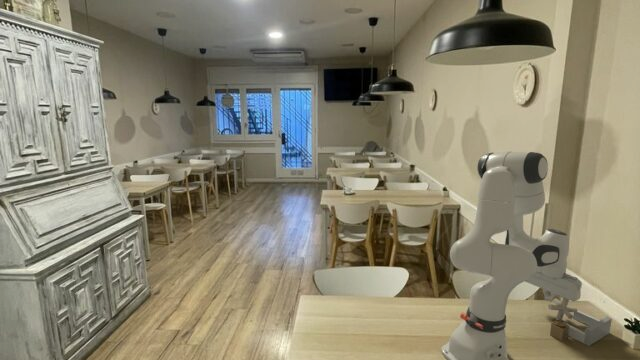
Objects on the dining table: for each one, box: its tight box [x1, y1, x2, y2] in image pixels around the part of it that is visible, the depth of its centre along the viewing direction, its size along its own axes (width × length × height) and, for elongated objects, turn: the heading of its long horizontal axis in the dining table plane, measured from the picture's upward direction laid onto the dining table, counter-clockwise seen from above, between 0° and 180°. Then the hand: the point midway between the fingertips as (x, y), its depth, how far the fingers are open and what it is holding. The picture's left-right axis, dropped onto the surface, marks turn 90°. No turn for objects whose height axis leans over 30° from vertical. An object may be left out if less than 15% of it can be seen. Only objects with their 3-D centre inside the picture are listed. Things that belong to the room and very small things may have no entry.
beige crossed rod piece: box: [548, 297, 578, 321], centre depth 135 cm, size 10×10×10 cm
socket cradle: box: [556, 309, 613, 347], centre depth 129 cm, size 15×12×6 cm
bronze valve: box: [549, 319, 570, 342], centre depth 126 cm, size 4×4×6 cm
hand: (548, 300), depth 140 cm, fingers closed
